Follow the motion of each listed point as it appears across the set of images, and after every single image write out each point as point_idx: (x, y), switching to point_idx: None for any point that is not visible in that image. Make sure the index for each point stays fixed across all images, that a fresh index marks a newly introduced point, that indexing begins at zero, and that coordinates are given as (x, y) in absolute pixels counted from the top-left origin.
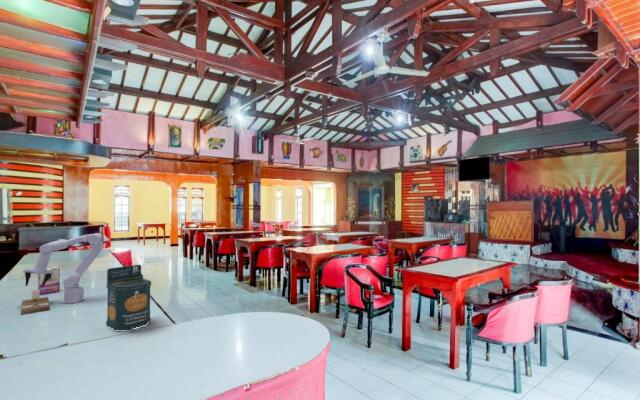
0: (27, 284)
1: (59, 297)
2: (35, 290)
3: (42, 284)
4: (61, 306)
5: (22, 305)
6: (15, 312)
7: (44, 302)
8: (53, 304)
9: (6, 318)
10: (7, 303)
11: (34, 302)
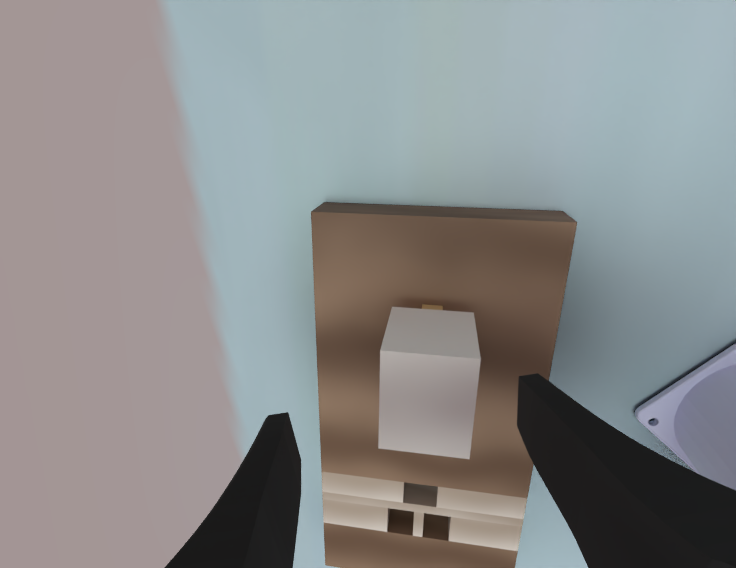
0: (296, 488)
1: (728, 83)
2: (424, 392)
3: (530, 435)
4: None
5: (326, 440)
6: None
7: (493, 467)
8: None
9: None
10: (179, 3)
11: None
